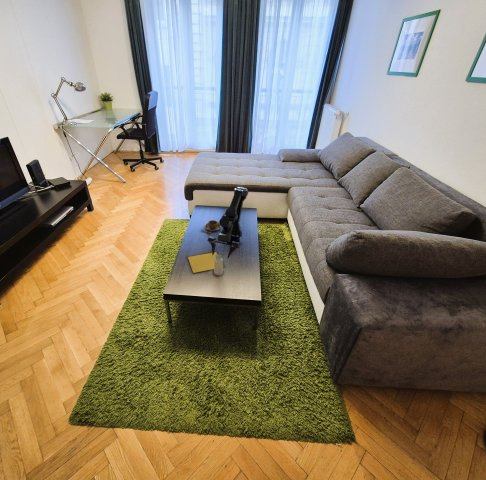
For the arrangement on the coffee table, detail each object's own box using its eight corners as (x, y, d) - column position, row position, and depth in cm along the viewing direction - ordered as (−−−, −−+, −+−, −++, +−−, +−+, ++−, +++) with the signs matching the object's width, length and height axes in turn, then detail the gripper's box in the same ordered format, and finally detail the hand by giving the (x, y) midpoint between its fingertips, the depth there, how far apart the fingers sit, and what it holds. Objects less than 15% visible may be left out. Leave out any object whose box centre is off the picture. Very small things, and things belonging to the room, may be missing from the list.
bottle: (221, 269, 159) (221, 252, 152) (223, 274, 155) (224, 257, 148) (213, 270, 158) (213, 254, 151) (215, 276, 154) (215, 259, 147)
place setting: (212, 221, 208) (212, 214, 204) (234, 228, 199) (235, 221, 196) (199, 230, 195) (199, 224, 192) (223, 238, 187) (223, 231, 184)
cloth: (216, 252, 173) (216, 251, 173) (223, 267, 161) (223, 266, 161) (187, 257, 168) (187, 257, 168) (193, 273, 156) (193, 272, 155)
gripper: (208, 224, 151) (201, 251, 148) (239, 230, 146) (233, 257, 143) (213, 229, 161) (206, 254, 159) (242, 235, 157) (236, 260, 154)
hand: (220, 256), depth 153 cm, fingers open, 9 cm apart
